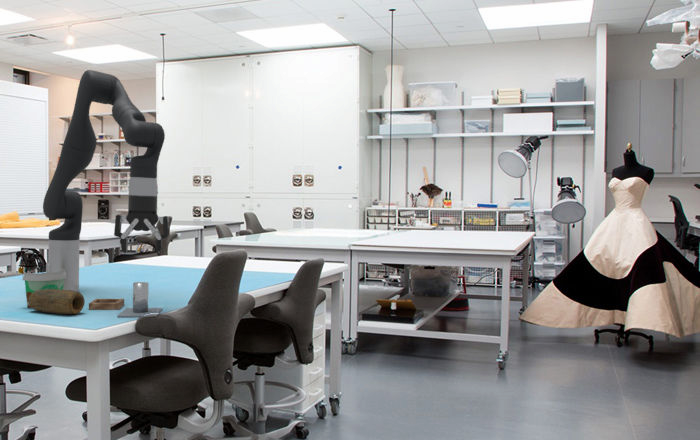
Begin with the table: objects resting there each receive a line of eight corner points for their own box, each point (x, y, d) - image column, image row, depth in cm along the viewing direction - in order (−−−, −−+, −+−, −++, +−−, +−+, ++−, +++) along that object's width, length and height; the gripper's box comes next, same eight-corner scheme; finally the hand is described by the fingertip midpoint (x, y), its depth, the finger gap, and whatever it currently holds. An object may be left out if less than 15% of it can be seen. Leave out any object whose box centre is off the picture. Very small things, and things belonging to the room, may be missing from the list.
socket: (88, 309, 172) (88, 303, 172) (95, 304, 180) (96, 298, 180) (118, 309, 174) (118, 303, 173) (124, 304, 181) (124, 298, 181)
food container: (34, 310, 169) (35, 274, 168) (22, 308, 172) (22, 272, 171) (75, 305, 179) (75, 271, 179) (62, 302, 182) (63, 269, 182)
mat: (117, 317, 163) (117, 315, 163) (126, 309, 175) (126, 307, 175) (156, 317, 165) (156, 315, 165) (162, 309, 176) (162, 307, 176)
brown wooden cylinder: (88, 313, 168) (89, 289, 168) (70, 317, 162) (71, 292, 161) (43, 309, 172) (43, 285, 172) (24, 313, 166) (24, 288, 165)
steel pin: (131, 312, 167) (131, 283, 167) (134, 310, 171) (134, 281, 171) (146, 313, 168) (147, 284, 168) (149, 310, 172) (149, 282, 172)
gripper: (112, 193, 164) (111, 253, 164) (167, 195, 166) (166, 254, 167) (119, 193, 171) (117, 250, 172) (171, 195, 173) (170, 252, 174)
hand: (141, 252), depth 169 cm, fingers open, 8 cm apart
